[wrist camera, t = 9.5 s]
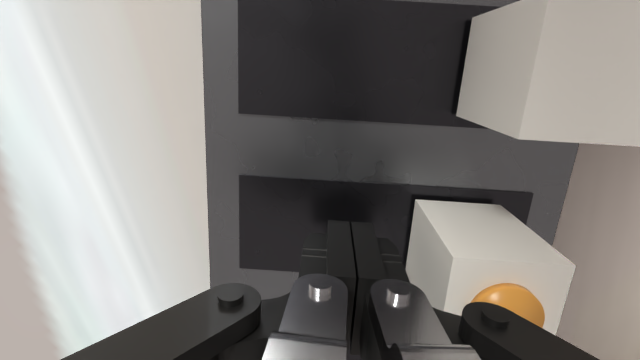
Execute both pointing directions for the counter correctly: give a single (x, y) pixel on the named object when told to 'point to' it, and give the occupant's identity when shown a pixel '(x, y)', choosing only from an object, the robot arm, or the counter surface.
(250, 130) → the panel
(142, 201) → the counter surface
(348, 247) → the robot arm
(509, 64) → the block
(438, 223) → the block
